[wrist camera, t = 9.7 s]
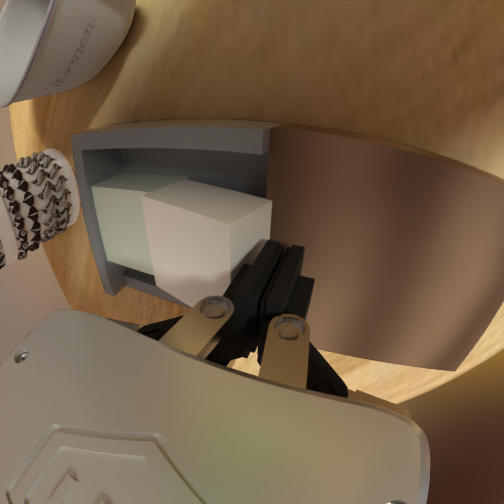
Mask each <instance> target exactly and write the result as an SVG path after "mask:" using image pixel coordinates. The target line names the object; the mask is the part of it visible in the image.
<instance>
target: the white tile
mask: <svg viewBox="0 0 504 504" xmlns="http://www.w3.org/2000/svg"><path fill="white" fill-rule="evenodd" d="M141 199H142V206H143V213H144V220H145V227H146V233H147V239H148V245H149V250H150V256H151V261H152V266H153V271H154V276H155V281H156V286H158V287H159V288H161V289H162V290H164V291H166V292H167V293H169V294H171V295H172V296H174V297H175V298H177V299H179V300H180V301H182V302H184V303H185V304H187V305H189V306H190V307H192V308H193V307H194V306H195V305H196V304H197V303H198V302H199V301H200V300H202V299H203V298H206V297H208V296H223V294H224V293H225V291H226V290H227V288H228V287H229V285H230V284H231V282H232V281H233V279H234V278H235V276H236V275H237V273H238V272H239V270H240V269H241V267H242V266H243V265H244V264H250V265H252V264H253V263H254V261H255V259H256V258H257V256H258V255H259V253H260V251H261V250H262V248H263V247H264V245H265V243H266V242H267V240H270V226H271V211H272V201H271V200H268V199H264V198H260V197H256V196H253V195H249V194H245V193H241V192H237V191H233V190H229V189H225V188H221V187H216V186H212V185H208V184H204V183H199V182H195V181H190V180H186V179H185V180H182V181H179V182H176V183H173V184H170V185H168V186H165V187H162V188H159V189H157V190H154V191H152V192H149V193H146V194H144V195H141Z"/></svg>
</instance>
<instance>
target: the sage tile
mask: <svg viewBox="0 0 504 504" xmlns="http://www.w3.org/2000/svg"><path fill="white" fill-rule="evenodd" d="M185 179H186V180H188V177H186V176H174V175H161V174H147V173H129V172H122V173H119V174H117V175H115V176H113V177H110V178H108V179H106V180H104V181H102V182H100V183H98V184H95V185H93V186H91V188H92V193H93V199H94V204H95V209H96V214H97V219H98V223H99V228H100V232H101V236H102V241H103V245H104V248H105V252H106V256H107V260H108V261H111V262H114V263H117V264H120V265H123V266H126V267H129V268H132V269H135V270H138V271H141V272H145V273H148V274H151V275H154V271H153V266H152V261H151V256H150V250H149V245H148V239H147V233H146V227H145V220H144V213H143V206H142V199H141V195H144V194H146V193H149V192H152V191H154V190H157V189H159V188H162V187H165V186H168V185H170V184H173V183H176V182H179V181H182V180H185Z"/></svg>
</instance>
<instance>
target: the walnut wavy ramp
mask: <svg viewBox="0 0 504 504" xmlns="http://www.w3.org/2000/svg"><path fill="white" fill-rule="evenodd" d="M266 199H268V200H271V201H272V211H271V226H270V240H273V241H278V242H280V243H281V245H282V246H284V252H285V250H286V248H287V247H292V245H298V246H303V247H305V251H304V258H303V264H302V270H301V276H304V277H309V278H314V279H315V282H314V287H313V292H312V297H311V301H310V305H309V309H308V313H307V316H306V320H305V321H306V322H307V323H308V325H309V328H310V339H309V341H310V342H311V343H312V344H313V346H314V347H315V348H316V349H319V350H324V351H329V352H333V353H338V354H343V355H348V356H353V357H358V358H363V359H369V360H375V361H380V362H386V363H393V364H399V365H406V366H413V367H420V368H428V369H436V370H445V371H456V369H457V368H458V367H459V366H460V364H461V363H462V362H463V361H464V359H465V358H466V357H467V355H468V354H469V353H470V351H471V350H472V349H473V347H474V346H475V345H476V343H477V342H478V340H479V339H480V338H481V336H482V335H483V333H484V332H485V330H486V329H487V327H488V326H489V324H490V323H491V321H492V319H493V318H494V316H495V315H496V313H497V311H498V310H499V308H500V306H501V305H502V303H503V301H504V179H502V178H499V177H497V176H495V175H492V174H490V173H488V172H485V171H483V170H480V169H478V168H475V167H473V166H470V165H467V164H465V163H462V162H459V161H456V160H453V159H450V158H447V157H444V156H441V155H438V154H435V153H432V152H429V151H425V150H422V149H418V148H415V147H411V146H408V145H404V144H400V143H396V142H392V141H388V140H384V139H379V138H375V137H370V136H366V135H361V134H356V133H350V132H345V131H339V130H333V129H327V128H320V127H313V126H306V125H298V124H289V123H285V124H281V125H278V126H274V127H271V128H270V141H269V158H268V175H267V192H266Z"/></svg>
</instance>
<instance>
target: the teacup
mask: <svg viewBox="0 0 504 504" xmlns="http://www.w3.org/2000/svg"><path fill="white" fill-rule="evenodd" d="M135 1H136V0H7V1H6V3H5V5H4V7H3V10H2V12H1V15H0V107H6V106H8V105H10V104H12V103H14V102H19V101H24V100H28V99H33V98H38V97H43V96H48V95H53V94H57V93H62V92H65V91H69V90H72V89H74V88H77V87H79V86H81V85H83V84H84V83H86V82H88V81H89V80H90V79H92V78H93V77H94V76H95V75H96V74H98V73H99V72H100V71H101V69H102V68H103V67H104V66H105V65H106V64H107V63H108V62H109V60H110V59H111V58H112V56H113V55H114V53H115V52H116V51H117V50H118V48H119V47H120V45H121V44H122V42H123V41H124V39H125V37H126V35H127V33H128V31H129V29H130V26H131V23H132V20H133V16H134V11H135Z"/></svg>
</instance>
